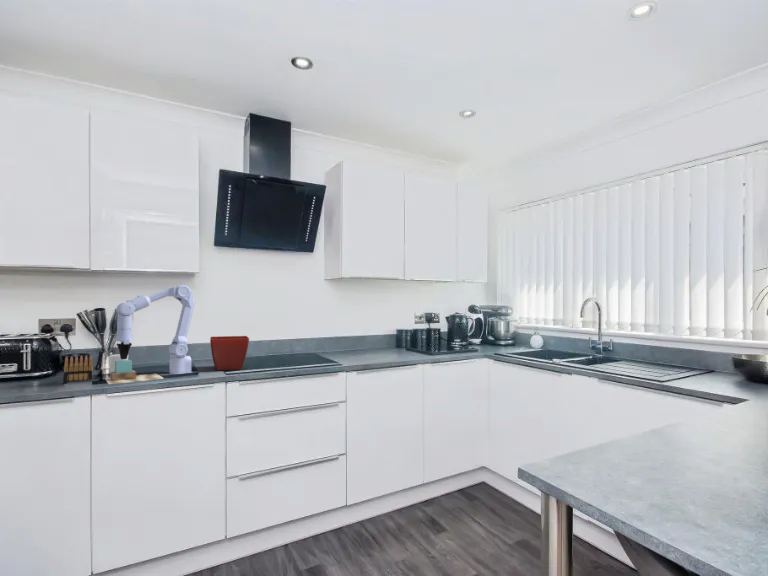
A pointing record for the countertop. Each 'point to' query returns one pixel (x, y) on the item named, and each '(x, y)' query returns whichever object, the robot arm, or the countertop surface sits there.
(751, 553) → the countertop surface
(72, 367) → the ammunition clip
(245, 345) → the plant pot
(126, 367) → the teal brick
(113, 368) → the white cup
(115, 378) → the walnut base block
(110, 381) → the birch board
